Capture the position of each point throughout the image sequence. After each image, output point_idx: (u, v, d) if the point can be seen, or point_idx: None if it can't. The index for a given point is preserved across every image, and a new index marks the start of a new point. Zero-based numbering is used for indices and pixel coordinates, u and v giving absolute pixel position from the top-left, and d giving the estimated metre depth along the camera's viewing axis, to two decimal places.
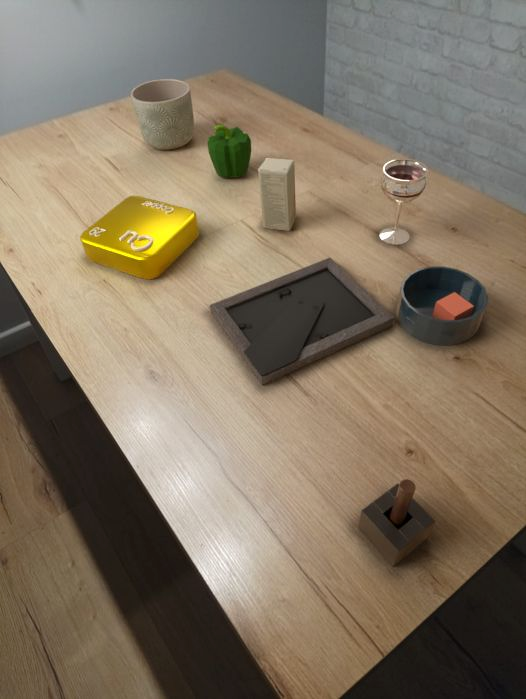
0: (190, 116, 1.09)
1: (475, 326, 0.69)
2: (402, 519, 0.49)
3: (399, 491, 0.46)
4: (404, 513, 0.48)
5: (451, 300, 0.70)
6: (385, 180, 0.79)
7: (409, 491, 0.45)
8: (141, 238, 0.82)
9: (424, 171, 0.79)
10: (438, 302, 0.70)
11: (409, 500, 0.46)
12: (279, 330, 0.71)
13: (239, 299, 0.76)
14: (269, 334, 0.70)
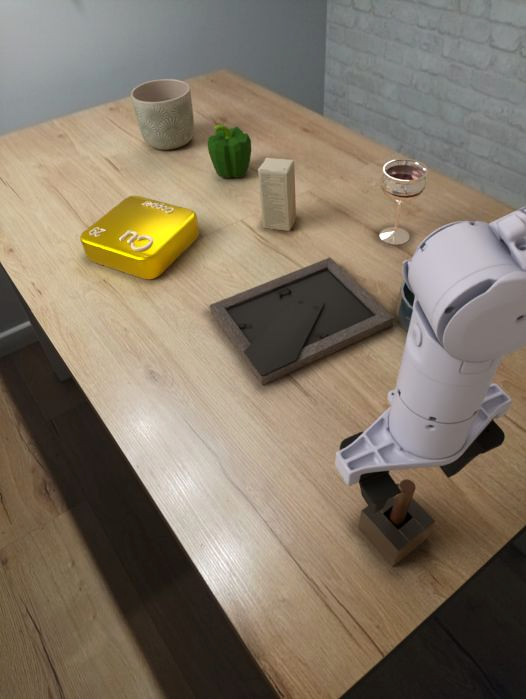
0: (190, 116, 1.09)
1: None
2: (402, 519, 0.49)
3: None
4: (404, 513, 0.48)
5: None
6: (385, 180, 0.79)
7: (409, 491, 0.45)
8: (141, 238, 0.82)
9: (424, 171, 0.79)
10: None
11: (409, 500, 0.46)
12: (279, 330, 0.71)
13: (239, 299, 0.76)
14: (269, 334, 0.70)
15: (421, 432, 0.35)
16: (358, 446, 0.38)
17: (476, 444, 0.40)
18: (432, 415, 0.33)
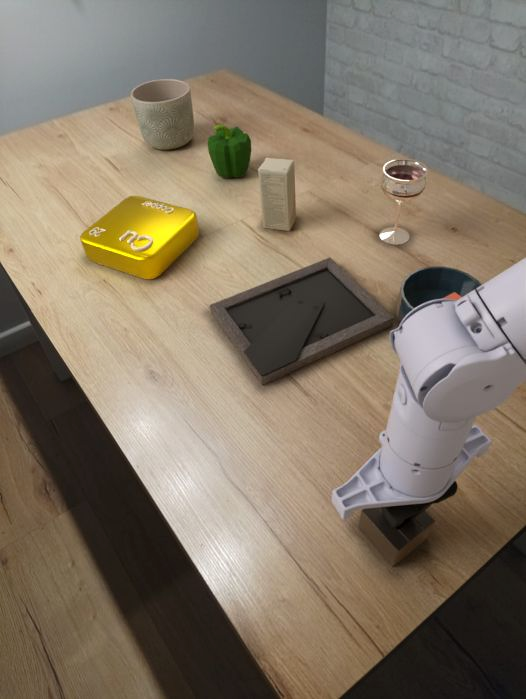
0: (190, 116, 1.09)
1: None
2: None
3: None
4: None
5: None
6: (385, 180, 0.79)
7: None
8: (141, 238, 0.82)
9: (424, 171, 0.79)
10: None
11: None
12: (279, 330, 0.71)
13: (239, 299, 0.76)
14: (269, 334, 0.70)
15: (407, 475, 0.39)
16: (352, 484, 0.42)
17: None
18: (417, 462, 0.37)
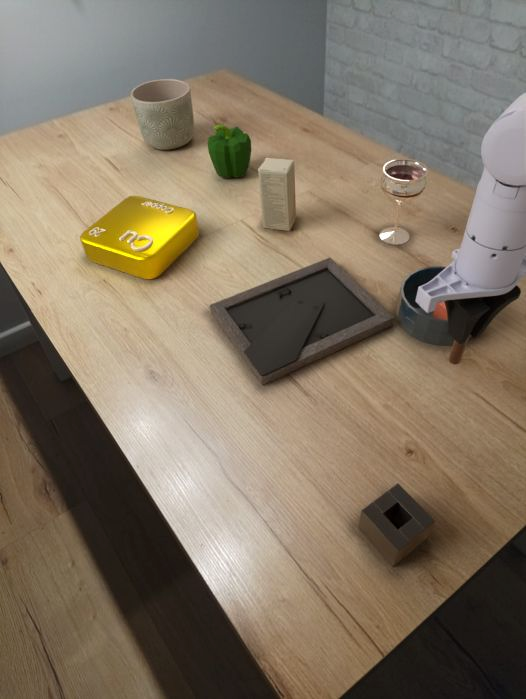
0: (190, 116, 1.09)
1: None
2: None
3: None
4: None
5: None
6: (385, 180, 0.79)
7: None
8: (141, 238, 0.82)
9: (424, 171, 0.79)
10: None
11: None
12: (279, 330, 0.71)
13: (239, 299, 0.76)
14: (269, 334, 0.70)
15: (485, 263, 0.47)
16: (434, 284, 0.50)
17: (499, 297, 0.52)
18: (474, 233, 0.46)
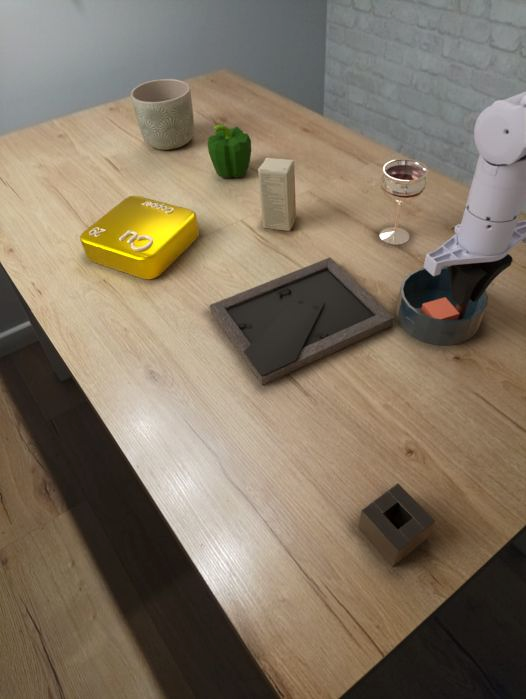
0: (190, 116, 1.09)
1: (475, 326, 0.69)
2: None
3: None
4: None
5: (438, 304, 0.69)
6: (385, 180, 0.79)
7: None
8: (141, 238, 0.82)
9: (424, 171, 0.79)
10: (424, 304, 0.69)
11: None
12: (279, 330, 0.71)
13: (239, 299, 0.76)
14: (269, 334, 0.70)
15: (482, 233, 0.57)
16: (439, 252, 0.60)
17: (494, 264, 0.61)
18: (468, 203, 0.57)
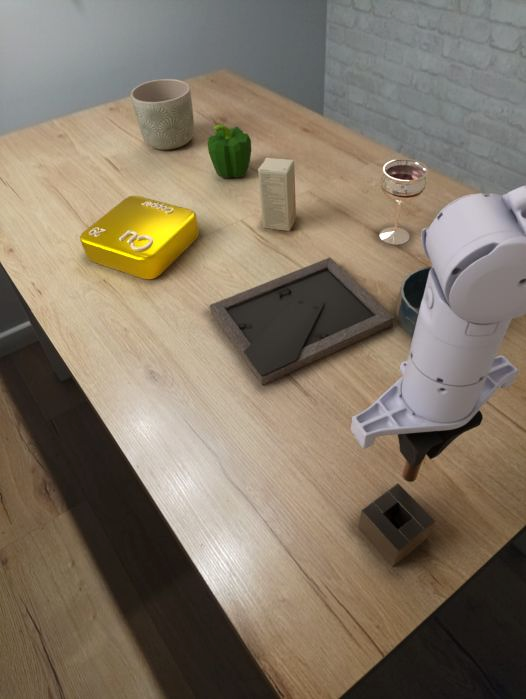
0: (190, 116, 1.09)
1: None
2: None
3: None
4: None
5: None
6: (385, 180, 0.79)
7: None
8: (141, 238, 0.82)
9: (424, 171, 0.79)
10: None
11: None
12: (279, 330, 0.71)
13: (239, 299, 0.76)
14: (269, 334, 0.70)
15: (433, 396, 0.37)
16: (373, 411, 0.41)
17: None
18: (439, 377, 0.36)
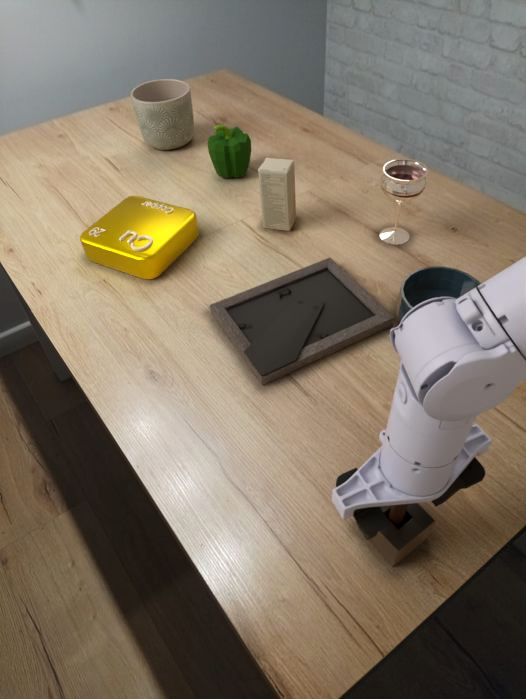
0: (190, 116, 1.09)
1: None
2: (401, 518, 0.49)
3: None
4: (403, 512, 0.48)
5: None
6: (385, 180, 0.79)
7: None
8: (141, 238, 0.82)
9: (424, 171, 0.79)
10: None
11: None
12: (279, 330, 0.71)
13: (239, 299, 0.76)
14: (269, 334, 0.70)
15: (408, 474, 0.39)
16: (352, 483, 0.42)
17: (459, 480, 0.44)
18: (417, 461, 0.37)
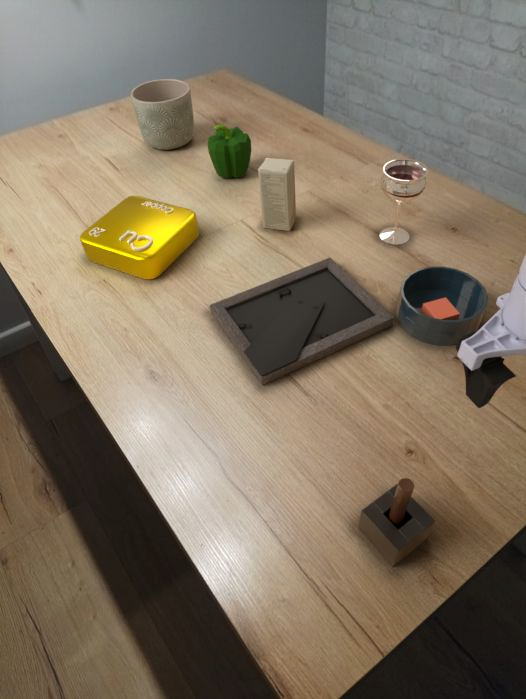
0: (190, 116, 1.09)
1: (475, 326, 0.69)
2: (401, 518, 0.49)
3: (398, 490, 0.46)
4: (403, 512, 0.48)
5: (439, 304, 0.69)
6: (385, 180, 0.79)
7: (407, 490, 0.45)
8: (141, 238, 0.82)
9: (424, 171, 0.79)
10: (425, 304, 0.69)
11: (408, 499, 0.46)
12: (279, 330, 0.71)
13: (239, 299, 0.76)
14: (269, 334, 0.70)
15: None
16: (478, 337, 0.45)
17: None
18: None
